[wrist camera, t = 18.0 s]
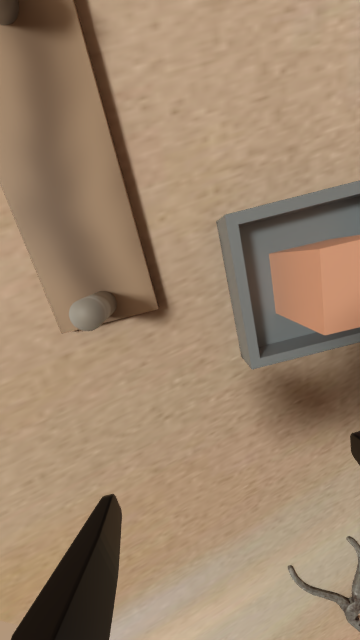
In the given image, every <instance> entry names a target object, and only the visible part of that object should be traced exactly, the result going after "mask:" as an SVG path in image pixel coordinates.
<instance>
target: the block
mask: <svg viewBox="0 0 360 640" xmlns="http://www.w3.org/2000/svg"><path fill="white" fill-rule="evenodd" d="M269 260H270V268H271V277H272V285H273V294H274V302H275V311H276V314H279V315H281V316H283V317H285V318H287V319H290V320H292V321H294V322H296V323H298V324H301V325H303V326H305V327H307V328H309V329H312V330H314V331H316V332H318V333H320V334H322V335H329V334H333V333H337V332H342V331H346V330H350V329H354V328H358V327H360V235H355V236H348V237H341V238H334V239H328V240H324V241H320V242H316V243H312V244H307V245H303V246H299V247H295V248H291V249H286V250H282V251H278V252H274V253H270V254H269Z"/></svg>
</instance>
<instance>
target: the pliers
mask: <svg viewBox="0 0 360 640" xmlns="http://www.w3.org/2000/svg"><path fill="white" fill-rule="evenodd" d="M346 539H347V540H348V542H349V543H350V544H351V545H352V546H353V547H354V548H355V550H356V552H357V555H358V567H357V571H356V574H355V578H354V581H353V585H352V597H350V598H346V597H344V596H342V595H339V594H337V593H334V592H330V591H326V590H322V589H318V588H315V587H312V586H309V585H307V584H305V583H304V582H303V581H301V580H300V579H299V578H298V577H297V575H296V574H295V572H294V569H293V567H292V566H291V565H289V566H288V570H289V572H290V575H291V577H292V579H293V580H294V581H295V583H296V584H297V585H298V586H299V587H301V588H302V589H303V590H305V591H306V592H308V593H310V594H313V595H315V596H319V597H322V598H325V599H328V600H331V601H334V602H336V603H337V604H338V605H340V607H341V609H342V610H343V611H344V613H345V616H346V619H347V621H348V622H349V623H350V624H351V625H352V626H353V627H355V628H356V629H357V630H358V631H359V632H360V620H359V618H358V614H359V613H360V546H359V545H358V544H357V542H356V541H355V540H354V539H353V538H351V537H350V536H349V537H347V538H346Z"/></svg>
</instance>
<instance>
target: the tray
mask: <svg viewBox="0 0 360 640" xmlns="http://www.w3.org/2000/svg"><path fill="white" fill-rule="evenodd" d="M217 227H218V233H219V238H220V243H221V249H222V254H223V260H224V265H225V270H226V276H227V281H228V286H229V292H230V297H231V303H232V308H233V313H234V319H235V324H236V330H237V335H238V340H239V346H240V351H241V356H242V358H243V359H244V360H245V362H246V363H247V364H248V365H249V367H250V368H251V369H256V368H260V367H264V366H268V365H272V364H276V363H280V362H283V361H287V360H291V359H295V358H299V357H303V356H307V355H311V354H315V353H319V352H323V351H327V350H331V349H335V348H339V347H343V346H347V345H351V344H354V343H358V342H360V327H358V328H354V329H350V330H346V331H342V332H337V333H333V334H329V335H322V334H320V333H318V332H316V331H314V330H312V329H309V328H307V327H305V326H303V325H301V324H298V323H296V322H294V321H292V320H290V319H287V318H285V317H283V316H281V315H279V314H276V311H275V302H274V294H273V285H272V277H271V268H270V260H269V254H270V253H274V252H278V251H282V250H286V249H291V248H295V247H299V246H303V245H307V244H312V243H316V242H320V241H324V240H328V239H334V238H341V237H348V236H355V235H360V181H356V182H352V183H348V184H344V185H340V186H336V187H332V188H328V189H324V190H321V191H317V192H313V193H309V194H305V195H301V196H297V197H293V198H289V199H285V200H281V201H277V202H273V203H269V204H266V205H262V206H258V207H254V208H250V209H246V210H242V211H238V212H234V213H230V214H226V215H224V216H223V217H222V218H220V219H219V220H218V221H217Z"/></svg>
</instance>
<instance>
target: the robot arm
mask: <svg viewBox="0 0 360 640" xmlns="http://www.w3.org/2000/svg"><path fill="white" fill-rule="evenodd" d="M350 441H351V452H352V455H353V457H354V458H355V460H356V461H357V462H358V464H359V465H360V431H359V432H355V433H352V434H351V435H350ZM121 522H122V511H121V508H120V506H119V503H118V501H117V499H116V496H115V495H114V494H110V495H106V496H103V497H102V498H101V500H100V501H99V503H98V504H97V506H96V507H95V509H94V510H93V512H92V514H91V515H90V517H89V518H88V520H87V521H86V523H85V524H84V526H83V527H82V529H81V530H80V532H79V534H78V535H77V537H76V538H75V540H74V541H73V543H72V544H71V546H70V547H69V549H68V550H67V552H66V554H65V555H64V557H63V558H62V560H61V561H60V563H59V564H58V566H57V567H56V569H55V570H54V572H53V574H52V575H51V577H50V578H49V580H48V581H47V583H46V584H45V586H44V587H43V589H42V591H41V592H40V594H39V595H38V597H37V598H36V600H35V601H34V603H33V604H32V606H31V607H30V609H29V611H28V612H27V614H26V615H25V617H24V618H23V620H22V621H21V623H20V624H19V626H18V627H17V629H16V631H15V632H14V634H13V635H12V638H11V640H109V637H110V630H111V623H112V616H113V609H114V601H115V594H116V587H117V579H118V570H119V555H120V539H121Z"/></svg>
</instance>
